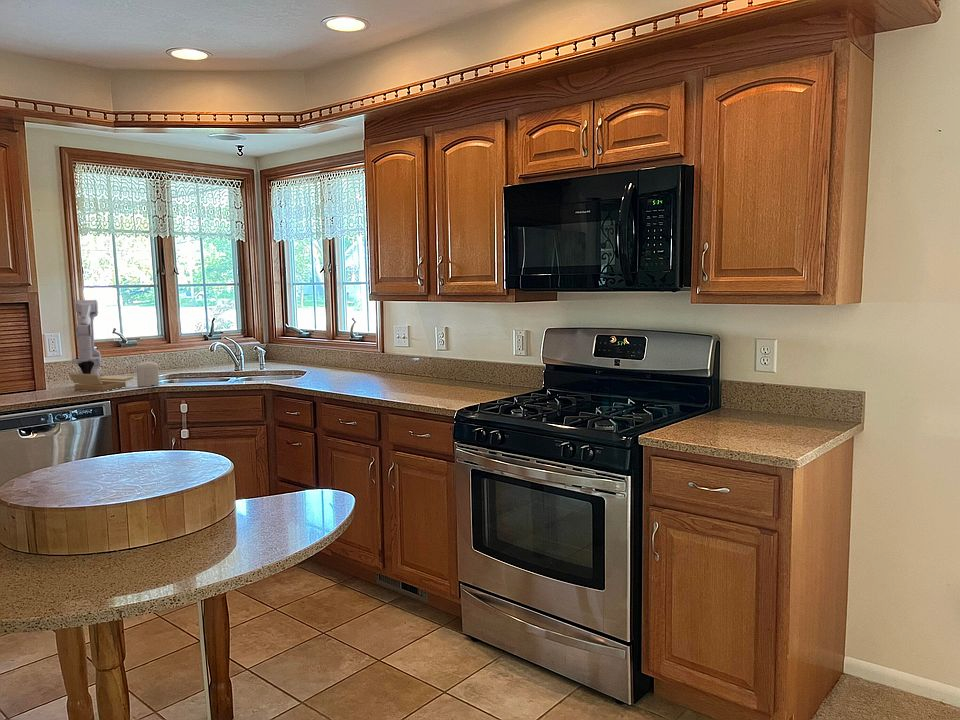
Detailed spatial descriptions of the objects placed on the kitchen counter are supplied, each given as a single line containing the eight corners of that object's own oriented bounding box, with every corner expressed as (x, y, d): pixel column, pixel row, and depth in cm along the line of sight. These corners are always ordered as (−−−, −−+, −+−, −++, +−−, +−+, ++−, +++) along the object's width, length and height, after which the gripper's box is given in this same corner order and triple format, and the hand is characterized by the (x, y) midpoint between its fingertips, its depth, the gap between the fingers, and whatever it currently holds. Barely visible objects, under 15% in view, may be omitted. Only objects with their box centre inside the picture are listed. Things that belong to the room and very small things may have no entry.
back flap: (106, 375, 380) (106, 377, 380) (98, 378, 375) (98, 380, 375) (133, 376, 374) (133, 378, 375) (124, 379, 369) (125, 381, 370)
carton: (74, 390, 362) (74, 384, 362) (97, 386, 375) (97, 380, 375) (103, 391, 356) (103, 385, 356) (125, 387, 370) (125, 381, 369)
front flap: (75, 381, 362) (74, 383, 361) (69, 373, 359) (68, 374, 358) (102, 383, 356) (101, 384, 356) (97, 374, 353) (96, 375, 352)
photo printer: (158, 384, 381) (157, 361, 379) (160, 385, 377) (158, 361, 376) (136, 386, 375) (135, 362, 374) (138, 387, 372) (137, 363, 370)
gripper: (79, 350, 348) (81, 379, 350) (103, 348, 362) (105, 375, 363) (67, 350, 350) (69, 378, 352) (92, 347, 364) (94, 375, 365)
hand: (87, 377), depth 358 cm, fingers closed
